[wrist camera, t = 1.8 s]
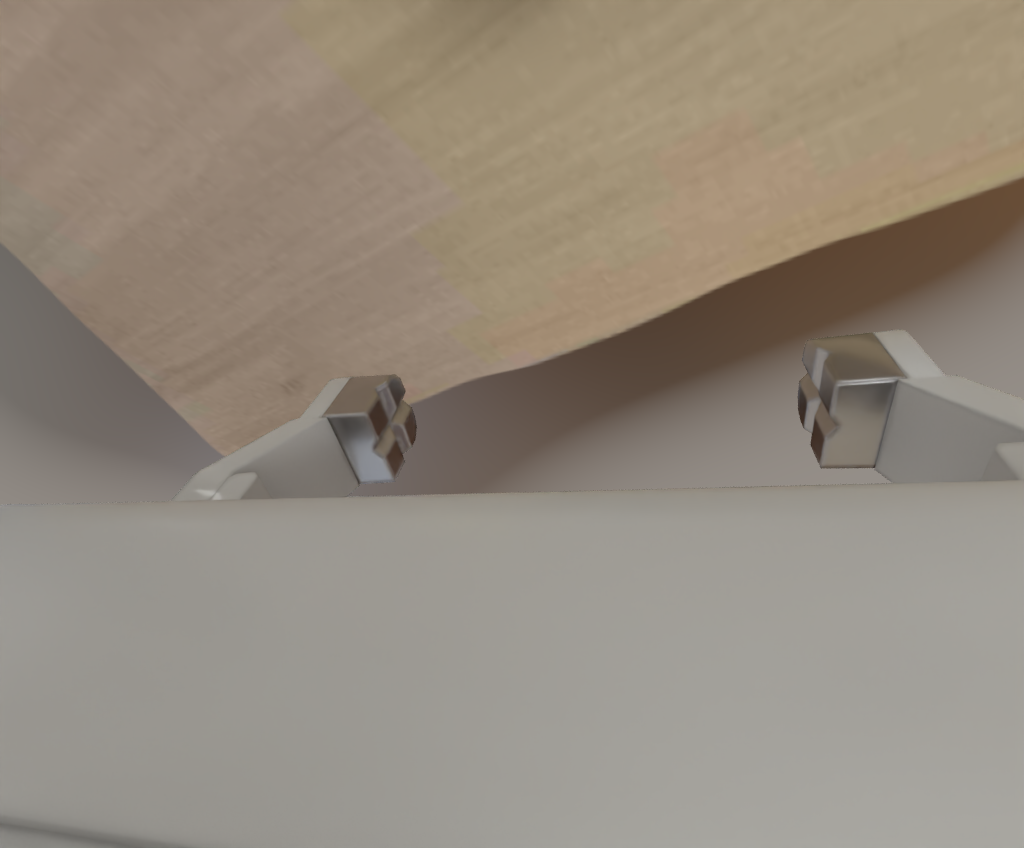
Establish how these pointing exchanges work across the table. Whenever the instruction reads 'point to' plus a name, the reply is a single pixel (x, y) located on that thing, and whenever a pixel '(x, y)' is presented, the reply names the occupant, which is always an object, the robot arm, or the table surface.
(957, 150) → the table surface
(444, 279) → the table surface
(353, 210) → the table surface
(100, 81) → the table surface
